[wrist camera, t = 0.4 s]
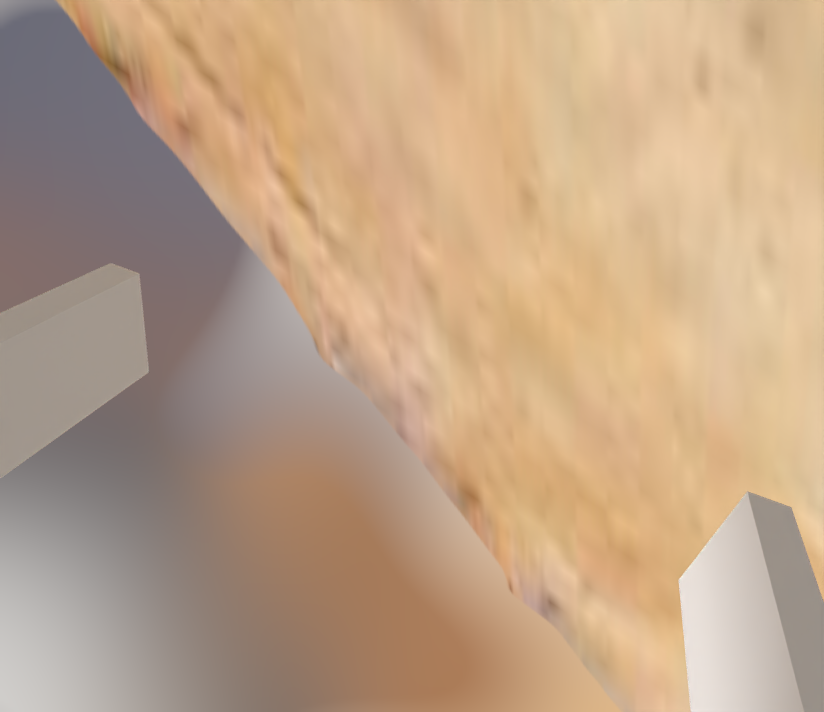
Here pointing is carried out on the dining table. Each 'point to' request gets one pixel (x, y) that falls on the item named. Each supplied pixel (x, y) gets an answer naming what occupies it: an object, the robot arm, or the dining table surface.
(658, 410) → the dining table surface
